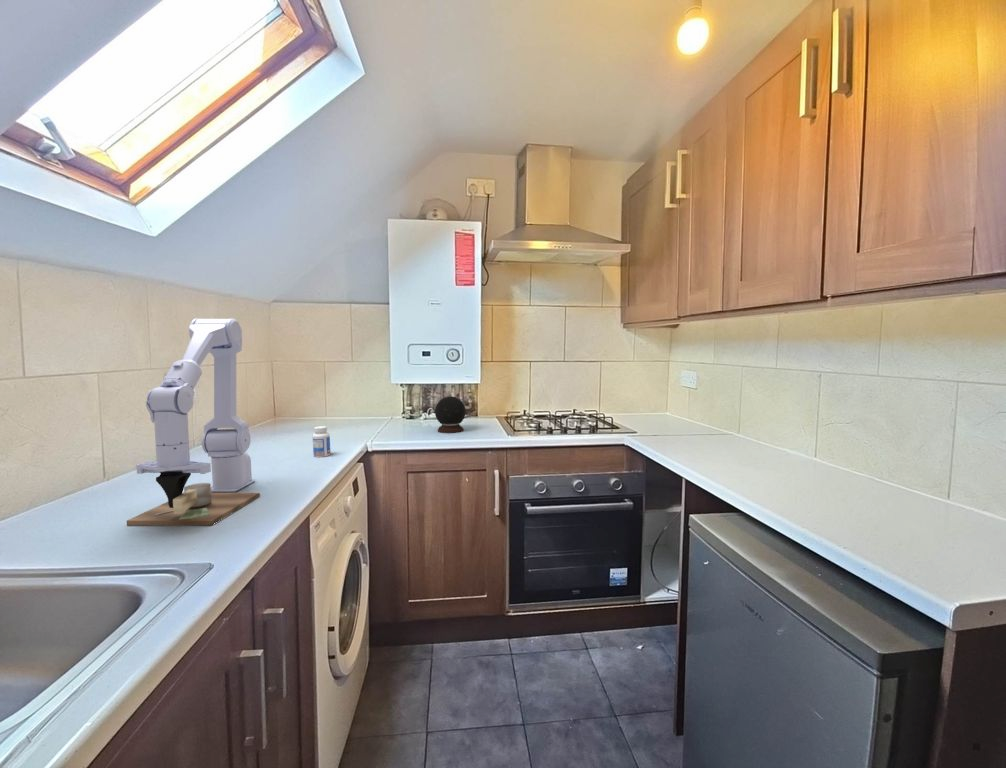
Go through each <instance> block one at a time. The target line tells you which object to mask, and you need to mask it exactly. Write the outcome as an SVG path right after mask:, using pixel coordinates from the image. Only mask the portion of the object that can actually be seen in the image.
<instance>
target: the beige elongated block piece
mask: <svg viewBox="0 0 1006 768" xmlns="http://www.w3.org/2000/svg"><path fill="white" fill-rule="evenodd" d="M211 487H212V485H211V483H209V482H200V483H199V482H198V483H192V484H188V485H185V486H184V489H183V492H182V494H181V495H179V496H178V497H176V498H175V499H173V510H174V514H176V513H183V512H185V511H186V510H187V509H189V508H190V507H199V506H203V505H207V504H209V503H211V502H212V499H211V493H212V492H211Z"/></svg>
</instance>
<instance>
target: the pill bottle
mask: <svg viewBox="0 0 1006 768" xmlns="http://www.w3.org/2000/svg"><path fill="white" fill-rule="evenodd" d="M313 431H314V433H313V434H312V448H313V449H312V450H313V451H312V452H313V457H315V458H324V457H328V456H330V455H331V438H330V437H331V436H330V433H329V432H327V431H328V426H325V425H319V426H315V427H313Z"/></svg>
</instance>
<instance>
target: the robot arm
mask: <svg viewBox="0 0 1006 768" xmlns="http://www.w3.org/2000/svg"><path fill="white" fill-rule="evenodd" d="M191 320H192V321H191V322H190V324H189V327H188V334H189V337H190V339H189V343H188V345H187V346H186V350H185V351H184V354H183V357H182V358H181V359H178V360H175V361H174V362H173V364H172V365H171V367H170V368H169V370H168V372H167V373H166V375H165V377H164V378H163V380H162V382H161V383H160V385H159V386H156V387H155V388H153V389H151V390H150V391H149V392H148V394H147V396H146V401H145V406H146V409H147V411H148V412H149V416H150V420H151V422H152V423H153V424H154V441H155V454H156V455H155V458H156V461H153V462H152V461H151V462H141V463H138V464H136V474H137V475H142V474H159V475H158V476H156V477H155V482H156V483H157V484H158V485H159V486H160V487H161V489H162V490H163V491H164V494H165V496H166V498H167V502H168V504H169V507H170V508H173V499H175V498H176V497H178V496H179V495H181V494H182V493H184V487H186V484H187V482H188V480H189V478H190V477H191V474H200V475H205V474H208V473H210V472H211V477H212V478H211V479H212V485H211V493H236V492H238V491H239V490H241V489H243V488H245V487H247V486H249V485H251V484H253V483H254V482H256V479H254V478H253V477H252V475H253V474H252V460H251V456H250V454H249V453H248V452H247V451H248V449H249V448H250V445H251V435H250V430H249V423H247V422H246V421H245V420H244V419H241V418H240V417H238V415H237V354H238V353H240V352H241V351H242V350H243V349H242V346H243V330H242V327H241V325H240V322H239V321H237V319H235V318H193V319H191ZM208 354H211V356H213V418H212V419H210V421H207V423H206V424H204V426H203V434H202V437H201V441H200V442H201V443H200V445H201V448H202V450H203V452H204V453H206V454H207V456H208V457H210V461H211V462H201V461H194V460H191V456H190V455H191V454H190V453H191V452H190V437H189V434H190V433H189V419H188V414H189V413H190V411H191V410H192V409H193V406H194V397H195V388H196V386H197V385H198V383H199V380H200V378H201V376H202V374H203V370H202V368H201V365H202V363H203V362H204V360H205V359H206V357H207V356H208ZM222 428H223V429H222Z"/></svg>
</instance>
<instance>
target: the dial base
mask: <svg viewBox="0 0 1006 768" xmlns="http://www.w3.org/2000/svg"><path fill="white" fill-rule="evenodd" d="M260 495H261V494H260V492H211V499H212V502H211V503H209V504H207V505H203V506H199V507H190V508H189V509H187V510H186V511H185V512H183V513H176V514H174V510H173V508H170V507H169V504H168V501H166V502H164V503H162V504H159V505H158V506H155V507H153V508H151V509H148V510H147V511H144V512H143V513H142V512H141V513H139V514H138V515H135V516H134V517H130V519H127V520H126V526H214V525H215V524H217V523H218V521H219V520H220V521H222V520H223V518H224V517H225V518H227V517H229V516H230V515H232V514H233V512H234V513H235V512H237V511H239V510H240V509H242V508H243V507H246V506H247V505H249V504H250V503H252V502H253V501H255V500H256V499H258V498H260ZM238 509H239V510H238ZM231 513H232V514H231ZM228 515H229V516H228ZM226 516H227V517H226ZM225 518H224V519H225ZM221 519H222V520H221ZM220 521H219V522H220ZM216 522H217V523H216ZM214 523H215V524H214ZM213 524H214V525H213Z"/></svg>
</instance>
